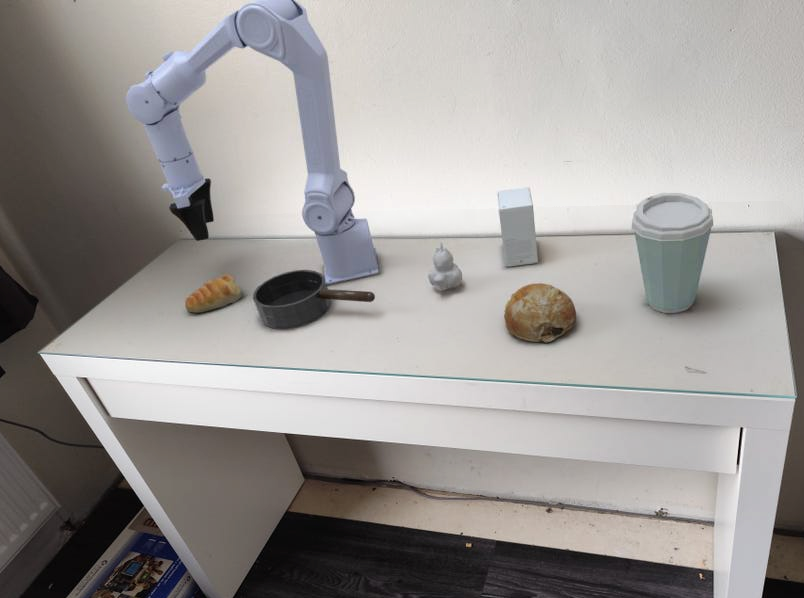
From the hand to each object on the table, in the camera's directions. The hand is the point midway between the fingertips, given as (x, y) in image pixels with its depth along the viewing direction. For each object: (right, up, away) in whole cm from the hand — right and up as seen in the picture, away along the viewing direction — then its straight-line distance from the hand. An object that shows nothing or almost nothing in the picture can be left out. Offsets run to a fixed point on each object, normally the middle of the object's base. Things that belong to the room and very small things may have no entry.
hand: (205, 230), depth 120 cm
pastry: (+3, -13, -2) cm, 14 cm away
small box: (+56, -5, -4) cm, 57 cm away
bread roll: (+57, -18, -22) cm, 64 cm away
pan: (+18, -15, -9) cm, 25 cm away
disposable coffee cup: (+76, -15, -23) cm, 81 cm away
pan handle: (+28, -14, -14) cm, 34 cm away
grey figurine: (+44, -12, -10) cm, 46 cm away
